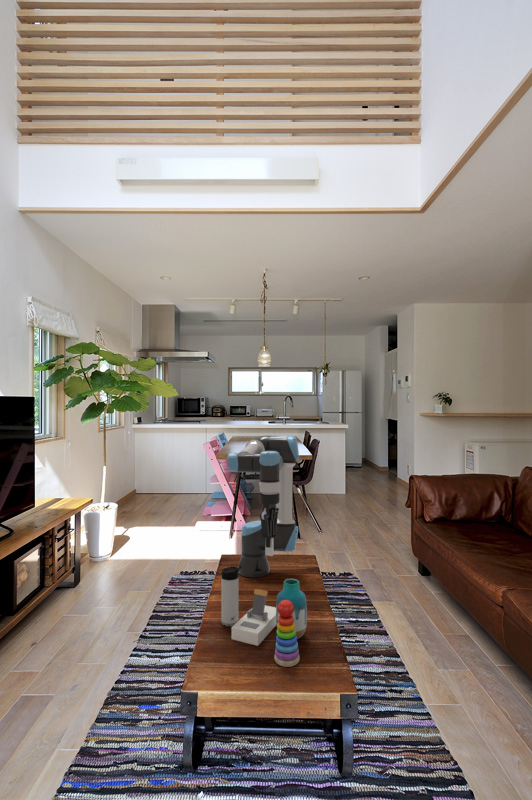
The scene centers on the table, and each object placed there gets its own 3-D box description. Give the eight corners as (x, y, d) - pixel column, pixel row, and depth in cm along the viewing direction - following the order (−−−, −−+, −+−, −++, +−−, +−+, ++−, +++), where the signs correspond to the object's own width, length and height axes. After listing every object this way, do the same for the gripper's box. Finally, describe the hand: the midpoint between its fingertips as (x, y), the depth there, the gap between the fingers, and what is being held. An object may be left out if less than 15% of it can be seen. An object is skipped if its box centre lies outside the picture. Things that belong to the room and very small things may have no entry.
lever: (252, 615, 164) (256, 589, 167) (263, 618, 162) (267, 591, 165) (250, 615, 162) (254, 589, 165) (261, 618, 160) (265, 591, 163)
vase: (290, 626, 164) (290, 573, 164) (313, 637, 157) (313, 581, 157) (269, 636, 157) (269, 581, 157) (292, 648, 149) (292, 590, 149)
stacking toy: (298, 653, 147) (298, 595, 147) (300, 668, 139) (300, 606, 139) (273, 653, 146) (273, 595, 146) (274, 668, 138) (274, 607, 138)
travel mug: (236, 627, 163) (236, 571, 163) (219, 625, 165) (219, 570, 164) (241, 619, 169) (241, 565, 169) (224, 617, 171) (224, 564, 171)
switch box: (257, 614, 174) (257, 598, 174) (281, 619, 169) (281, 603, 169) (231, 639, 155) (231, 621, 155) (257, 645, 151) (257, 627, 151)
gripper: (267, 488, 179) (267, 548, 179) (252, 494, 167) (252, 559, 167) (285, 490, 176) (285, 551, 176) (271, 496, 164) (271, 562, 164)
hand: (269, 555), depth 172 cm, fingers closed
